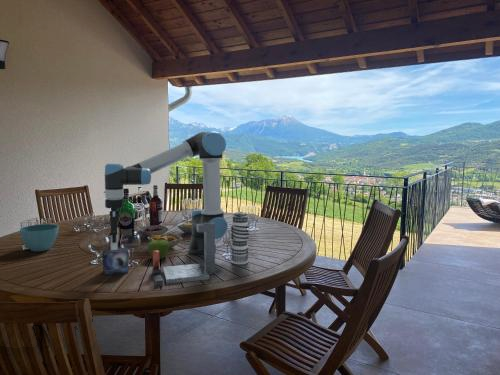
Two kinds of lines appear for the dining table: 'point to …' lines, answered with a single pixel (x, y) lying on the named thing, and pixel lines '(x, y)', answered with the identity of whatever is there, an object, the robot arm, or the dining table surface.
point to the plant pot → (39, 236)
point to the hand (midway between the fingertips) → (114, 245)
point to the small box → (115, 261)
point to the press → (193, 270)
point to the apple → (159, 247)
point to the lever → (156, 262)
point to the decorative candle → (239, 238)
